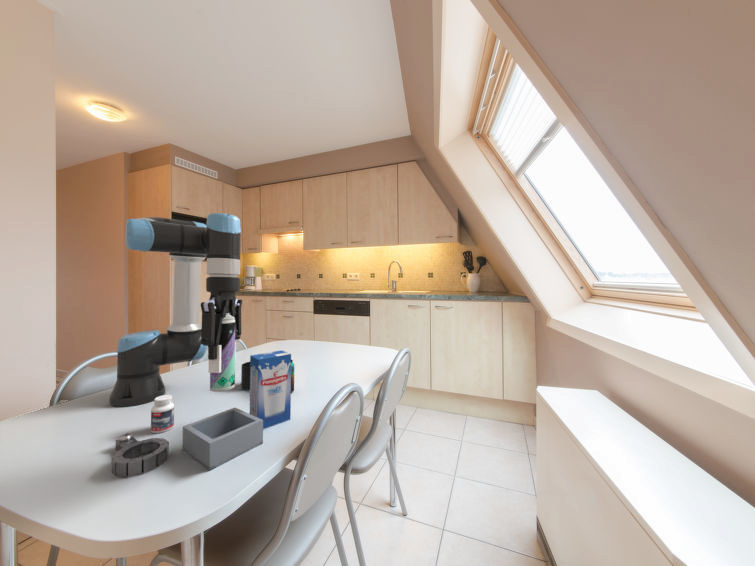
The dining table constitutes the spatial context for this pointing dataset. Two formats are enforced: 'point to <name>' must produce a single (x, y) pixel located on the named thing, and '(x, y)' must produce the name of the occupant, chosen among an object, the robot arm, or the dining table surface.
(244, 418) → the bin
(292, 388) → the beverage can
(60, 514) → the dining table surface
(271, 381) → the milk carton
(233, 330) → the spray can
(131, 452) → the socket ring
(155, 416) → the pill bottle
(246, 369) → the mug
